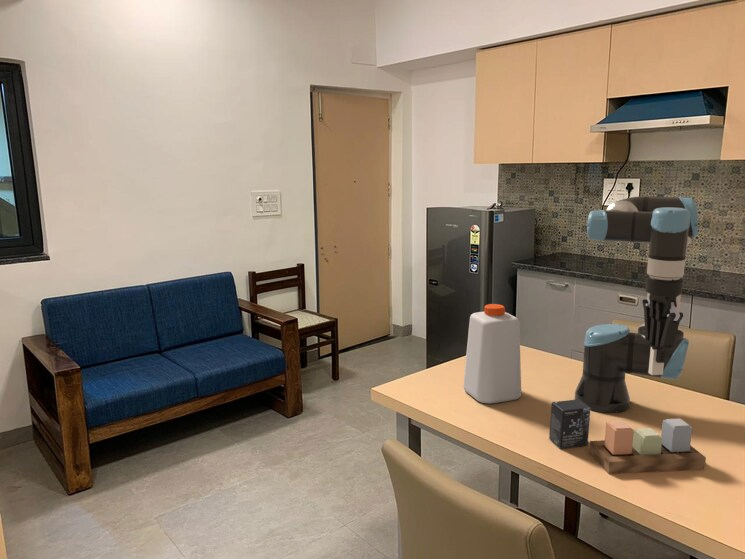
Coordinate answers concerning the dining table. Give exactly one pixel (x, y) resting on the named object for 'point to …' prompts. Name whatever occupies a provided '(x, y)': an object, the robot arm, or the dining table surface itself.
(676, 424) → the slate button
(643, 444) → the sage button
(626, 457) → the wooden tray
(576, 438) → the box
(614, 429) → the salmon pink block
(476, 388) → the plastic bottle
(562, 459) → the dining table surface
